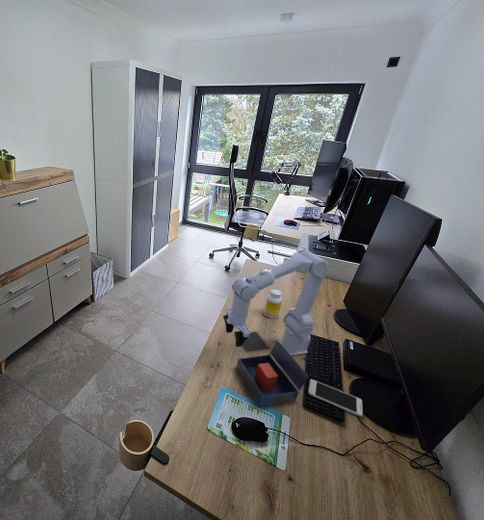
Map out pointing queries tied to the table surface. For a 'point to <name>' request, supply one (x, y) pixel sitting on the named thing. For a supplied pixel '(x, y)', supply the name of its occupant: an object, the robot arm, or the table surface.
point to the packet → (266, 377)
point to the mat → (254, 342)
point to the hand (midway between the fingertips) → (233, 338)
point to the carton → (278, 396)
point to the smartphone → (336, 397)
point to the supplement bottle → (273, 304)
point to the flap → (289, 365)
